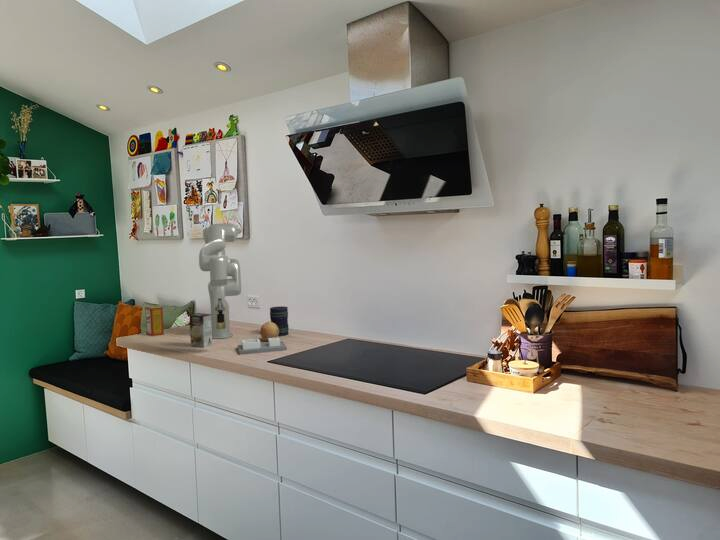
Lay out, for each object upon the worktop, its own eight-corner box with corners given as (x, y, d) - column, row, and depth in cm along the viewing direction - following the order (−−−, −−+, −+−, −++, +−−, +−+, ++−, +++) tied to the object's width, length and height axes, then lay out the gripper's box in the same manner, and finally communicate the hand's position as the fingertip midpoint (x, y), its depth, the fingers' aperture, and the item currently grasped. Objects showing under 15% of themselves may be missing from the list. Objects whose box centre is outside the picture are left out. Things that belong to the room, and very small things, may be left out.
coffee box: (190, 346, 254) (188, 315, 253) (199, 343, 260) (197, 313, 259) (204, 347, 250) (202, 315, 249) (213, 345, 256) (211, 313, 255)
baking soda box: (163, 334, 288) (162, 306, 287) (152, 336, 284) (150, 308, 283) (158, 332, 296) (156, 305, 294) (146, 333, 291) (145, 306, 290)
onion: (275, 342, 257) (274, 323, 257) (257, 342, 259) (256, 323, 259) (282, 338, 267) (281, 320, 266) (264, 338, 269) (263, 320, 268)
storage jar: (292, 333, 280) (291, 307, 279) (280, 337, 272) (279, 309, 270) (278, 332, 285) (277, 306, 284) (266, 335, 277) (265, 308, 276)
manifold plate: (237, 348, 248) (237, 339, 247) (282, 344, 254) (282, 335, 254) (239, 354, 234) (238, 344, 234) (286, 350, 241) (286, 340, 240)
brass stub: (216, 327, 240) (215, 306, 239) (225, 326, 241) (224, 306, 240) (216, 329, 236) (215, 308, 235) (226, 328, 237) (225, 307, 236)
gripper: (210, 281, 243) (212, 318, 245) (210, 285, 227) (212, 325, 229) (226, 280, 246) (228, 317, 247) (227, 284, 230) (229, 324, 231)
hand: (220, 321), depth 238 cm, fingers closed on brass stub, 4 cm apart
